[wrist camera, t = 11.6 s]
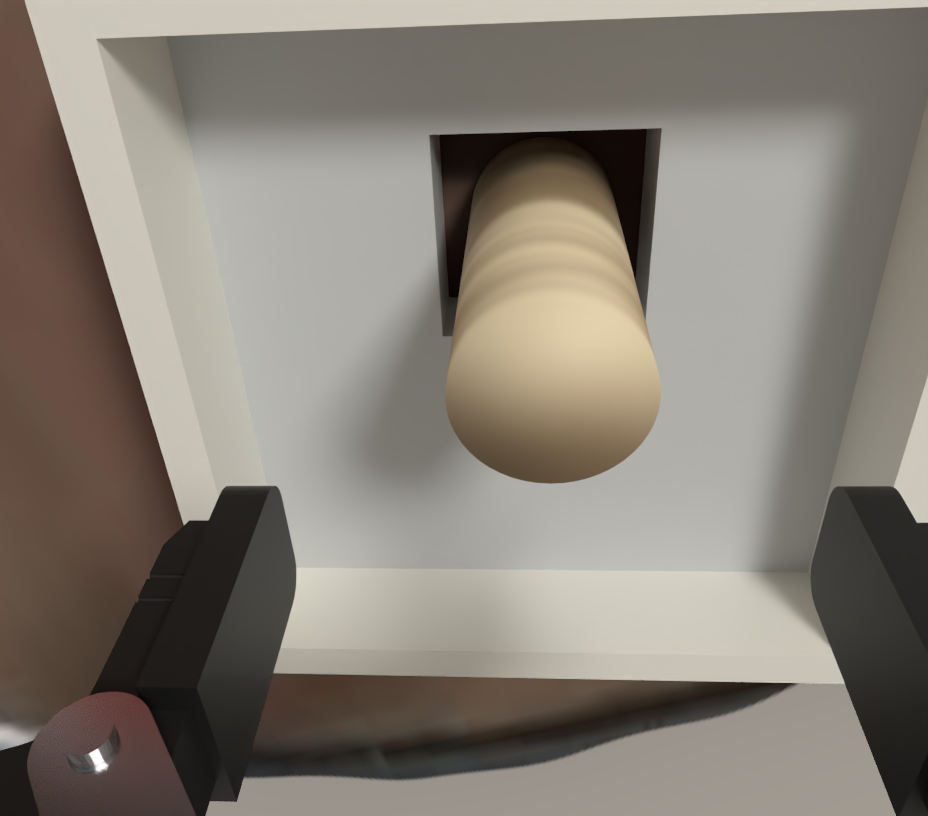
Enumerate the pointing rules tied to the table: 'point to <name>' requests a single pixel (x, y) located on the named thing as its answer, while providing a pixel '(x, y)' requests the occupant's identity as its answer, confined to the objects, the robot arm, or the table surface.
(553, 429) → the peg
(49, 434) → the table surface
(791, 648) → the tray
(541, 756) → the table surface
